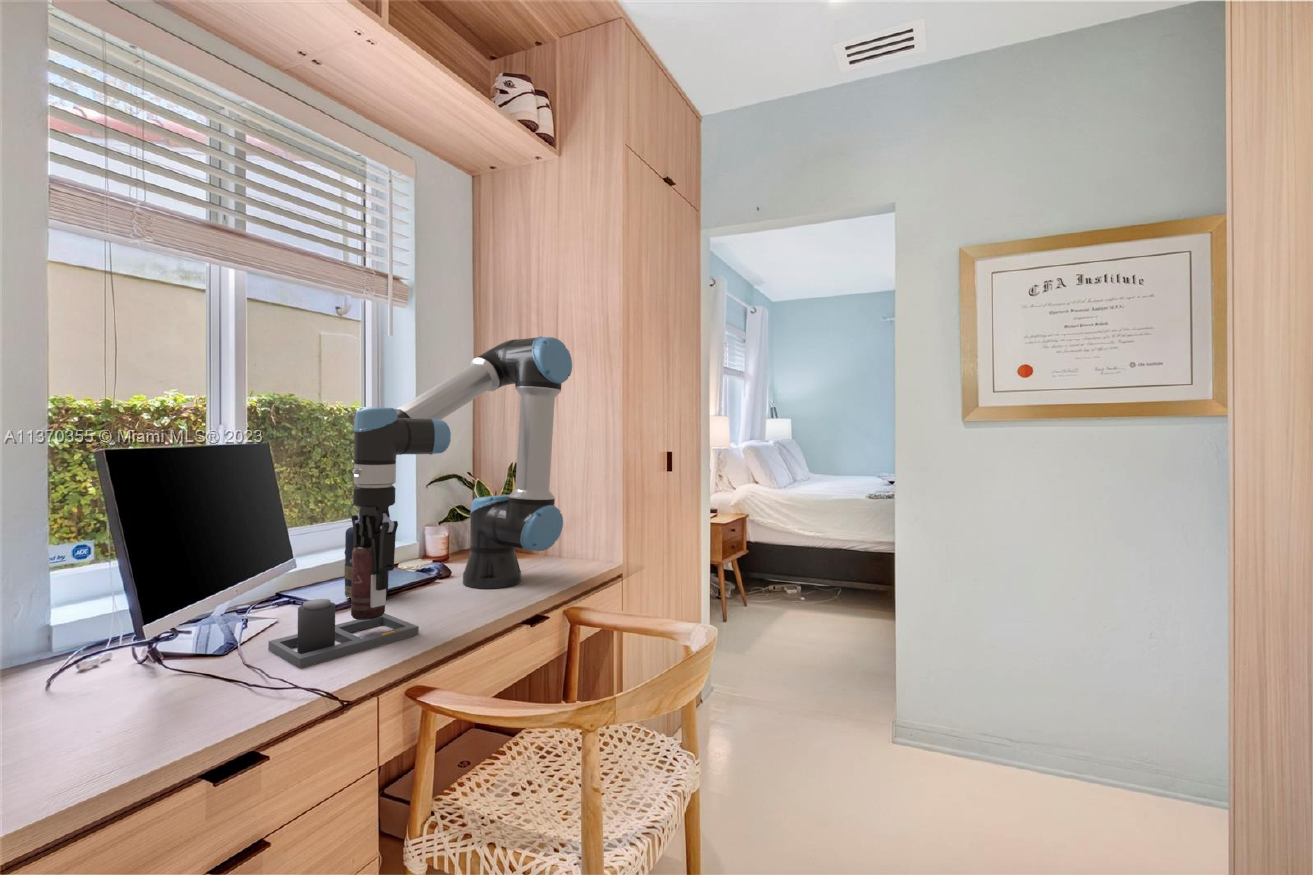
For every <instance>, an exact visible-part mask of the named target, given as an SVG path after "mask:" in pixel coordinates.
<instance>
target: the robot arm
mask: <svg viewBox="0 0 1313 875" xmlns="http://www.w3.org/2000/svg"><path fill="white" fill-rule="evenodd" d="M572 371H573V360H572V356H571V353H570V351H569V349H568V348H567V345H565V343H564V342H562V340H560V339H559V338H556V337H553V336H551V337H550V336H538V337H529V338H522V339H521V338H520V339H519V338H518V339H517V338H515V339H509V340H506V341H504V342H502V343H499V344H498V345H495V346H493V347H492V348H491V349H489V350H486V351H485V352H483V353H482V354H479V355H477V356H476V357H474V358H473V359H472V360H471V362H470V364H469V365H468V366H467V367H466V368H464V369H462V370H461V371H458V372H457V373H455V374H453V375H452V376H450V377H448V378H447V379H445V380H443V381H442V382H440V383H438V384H436V385H434V386H433V387H431V388H430V389H428V390H426V391H425V392H423V393H422V394H419V395H418V396H416V397H414V398H413V399H411V400H409V401H408V402H405V403H404V404H402V405H400V406H399V407H397V408H394V407H393V408H392V407H378V406H376V407H375V406H374V407H373V406H361V407H359V408H357V409H356V411H355V417H354V424H353V432H354V436H353V439H354V440H353V442H354V444H353V447H354V448H353V469H352V471H351V472H352V474H353V483H354V484H355V485H356V486H354V488H353V493H352V494H353V497H352V498H353V500H352V502H353V503H352V504H353V505H354V506H355V507H357V508H358V507H359V512H358V514H353V515H352V516H351V523H352V527H353V549H354V546H356V545H360V547H361V548H365V547H369V546H372V555H373V570H374V571H372V572H370V574H371V596H370V607H371V608H374V607H378V606H382V605H385V606H386V605H387V602H386V601H387V600H386V598H387V594H386V574H387V572H388V571H389V572H390V571H394V570H395V569H394V568H395V550H396V534H397V529H398V526H399V523H398V520H391V519H390V518H391V516H390V510H389V507H391V506H393V505H395V504H396V487H395V486H394V484H396V482H397V480H396V479H397V473H396V472H397V455H399V456H400V455H401V456H402V455H430V456H432V455H434V454H435V455H436V454H437V455H438V454H443V453H445V452H446V451H447V450H448V448H449V446H450V443H451V436H452V434H451V429H450V427H449V425H448V423H447V422H446V421H444V420H443V419H445V418H446V417H448V416H449V415H451V414H452V413H454V412H456V411H457V410H460V409H461V408H462V407H464V406H465V405H467V404H468V403H471V401H474V400H475V399H476V398H478V397H479V396H481V395H483V394H484V393H486V392H494V391H496V390H498V389H499V388H501V387H504V386H508V385H514V387H515V388H514V389H515V390H516V391H517V393H518V394H519V395H520V402H519V403H520V405H519V421H518V436H517V450H516V451H517V454H516V469H515V470H516V472H515V484H514V486H515V488H514V490H513V491H511V493H509V494H504V495H503V494H501V495H488V496H481V497H480V496H479V497H475V498H474V499H472V501H471V509H470V513H469V515H470V536H469V537H470V544H469V545H470V548H469V550H470V551H469V555H468V556H469V557H468V559H467V562H466V565H465V568H464V571H463V572H462V584H463V585H464V586H466V587H470V588H475V589H500V588H506V587H512V586H515V585H517V584H519V583H521V581H522V570H521V568H520V564H519V560H518V557H517V555H516V548H517V549H521V550H525V551H528V552H529V551H530V552H532V551H535V552H543V551H545V550H548V549H550V548H551V547H553V545H554V544H555V542H557V541H558V539H559V538H560V536H561V534H562V530H563V526H564V517H563V514H562V513H561V510H560V509H559V508H558V507H557V506H556V505H555V500H556V498H555V495H554V494H553V493H552V492H551V490H550V485H551V484H550V482H551V468H552V467H551V466H552V451H553V434H554V416H555V415H554V414H555V402H556V401H555V400H556V397H557V396H559V394H560V393H562V385H563V384H564V383H565V382H566V381H568V380H569V377H570V376H571V374H572ZM562 383H563V384H562ZM379 533H381V534H379ZM368 549H371V548H368Z"/></svg>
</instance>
